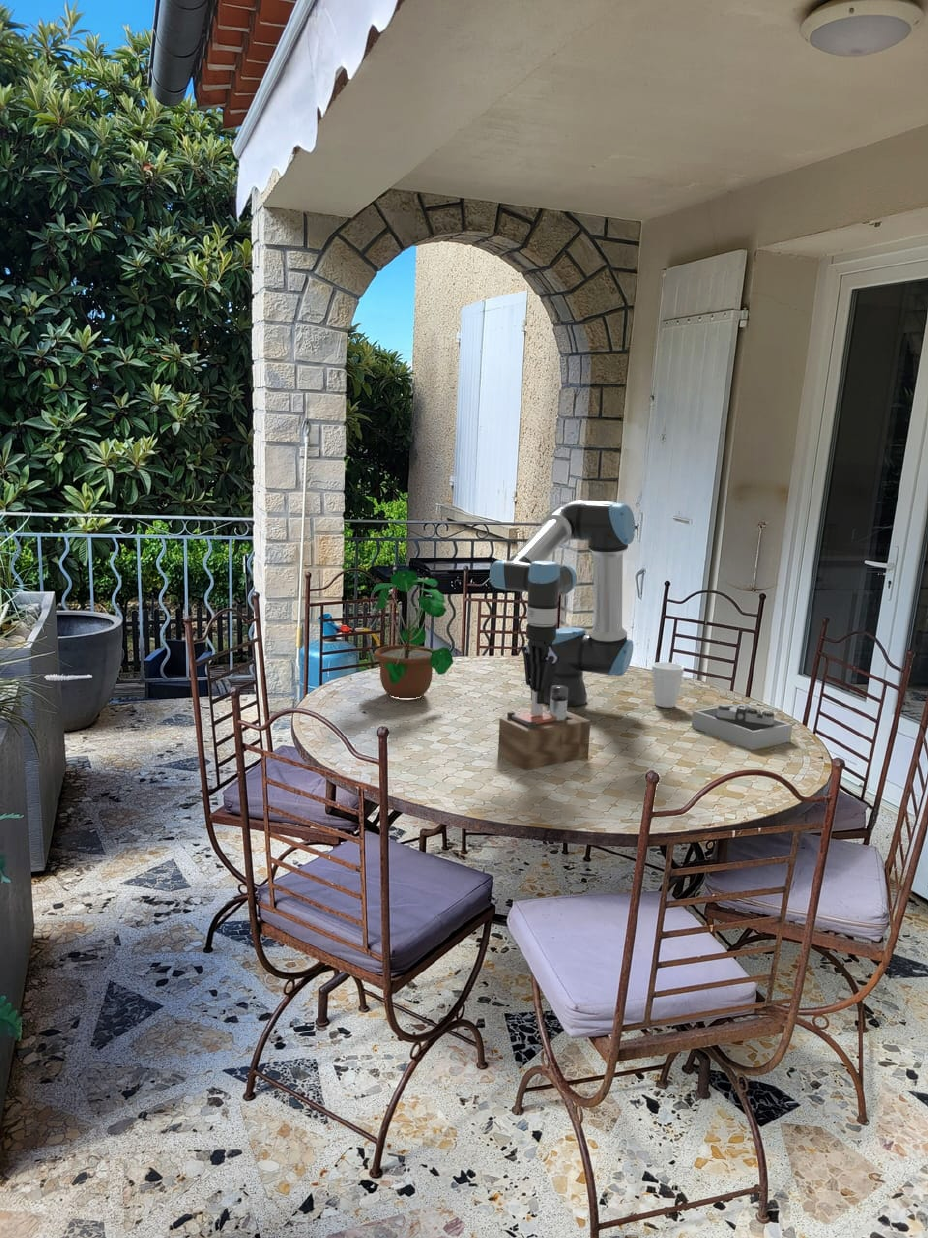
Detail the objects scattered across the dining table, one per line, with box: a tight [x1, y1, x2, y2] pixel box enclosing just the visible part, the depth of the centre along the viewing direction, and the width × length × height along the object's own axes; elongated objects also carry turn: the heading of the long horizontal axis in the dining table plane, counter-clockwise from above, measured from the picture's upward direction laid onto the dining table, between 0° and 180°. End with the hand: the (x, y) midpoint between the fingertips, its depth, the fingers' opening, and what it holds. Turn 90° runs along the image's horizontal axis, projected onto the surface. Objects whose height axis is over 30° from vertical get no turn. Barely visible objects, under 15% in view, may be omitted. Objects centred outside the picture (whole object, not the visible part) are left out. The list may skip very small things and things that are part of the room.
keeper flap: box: [511, 711, 555, 726], centre depth 222 cm, size 8×7×1 cm
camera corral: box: [691, 704, 793, 751], centre depth 251 cm, size 16×22×5 cm
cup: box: [651, 661, 685, 708], centre depth 276 cm, size 10×10×13 cm
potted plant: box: [371, 570, 454, 698], centre depth 275 cm, size 31×29×40 cm
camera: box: [716, 703, 775, 731], centre depth 249 cm, size 16×10×10 cm, turn 66°
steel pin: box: [549, 685, 568, 722], centre depth 227 cm, size 4×4×16 cm
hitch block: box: [497, 709, 591, 771], centre depth 225 cm, size 20×12×12 cm, turn 122°
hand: (536, 714), depth 223 cm, fingers closed
